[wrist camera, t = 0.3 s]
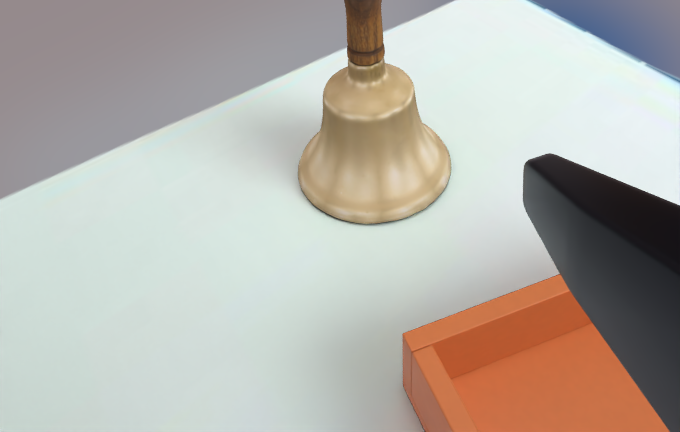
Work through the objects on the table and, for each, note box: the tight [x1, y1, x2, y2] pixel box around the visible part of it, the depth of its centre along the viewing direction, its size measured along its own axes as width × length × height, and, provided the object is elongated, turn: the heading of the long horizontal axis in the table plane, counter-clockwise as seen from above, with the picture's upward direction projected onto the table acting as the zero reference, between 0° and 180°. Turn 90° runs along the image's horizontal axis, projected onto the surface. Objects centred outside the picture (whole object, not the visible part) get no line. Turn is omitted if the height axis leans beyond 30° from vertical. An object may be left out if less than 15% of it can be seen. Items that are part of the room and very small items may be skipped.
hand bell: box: [298, 0, 451, 224], centre depth 28 cm, size 8×8×16 cm
